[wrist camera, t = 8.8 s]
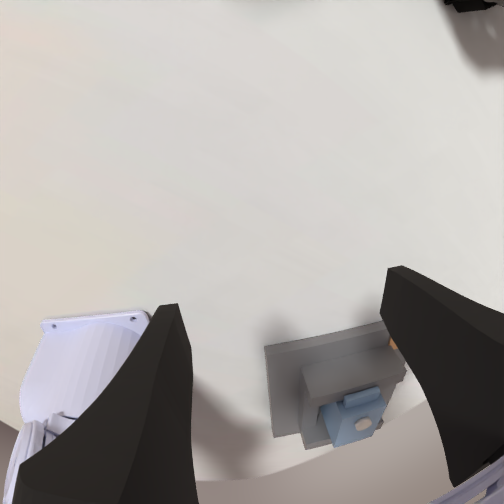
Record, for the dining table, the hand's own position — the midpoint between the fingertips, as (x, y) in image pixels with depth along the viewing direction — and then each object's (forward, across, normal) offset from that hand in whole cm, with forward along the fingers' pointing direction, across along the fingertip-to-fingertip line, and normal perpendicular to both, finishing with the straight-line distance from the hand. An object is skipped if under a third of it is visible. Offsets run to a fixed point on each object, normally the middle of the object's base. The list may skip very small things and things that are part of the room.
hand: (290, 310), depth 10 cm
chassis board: (+9, -7, +19) cm, 22 cm away
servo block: (+8, -7, +19) cm, 22 cm away
